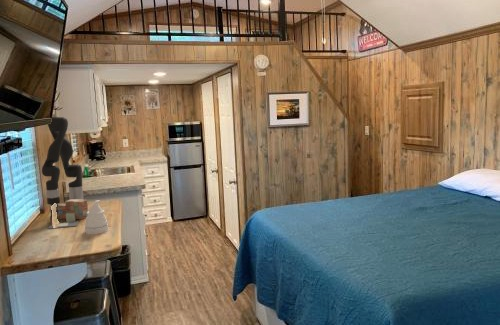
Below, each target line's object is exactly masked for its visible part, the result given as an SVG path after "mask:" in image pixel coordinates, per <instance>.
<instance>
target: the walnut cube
mask: <svg viewBox="0 0 500 325" xmlns="http://www.w3.org/2000/svg"><path fill="white" fill-rule="evenodd" d="M49 219H50V224H51V223H52V217H51V215H50V216H49ZM57 219H58V221H59V222H60V223H61V219H60V214H57Z"/></svg>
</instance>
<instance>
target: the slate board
mask: <svg viewBox="0 0 500 325" xmlns="http://www.w3.org/2000/svg"><path fill="white" fill-rule="evenodd" d="M78 224H79V221H78V220H75V221H74V222H66V221H65V222H60V223H59V225H58V226H57V227H58V228H57V229H62V228H71V227H74V228H75V227H78ZM52 228H53V226H52V224H51V223H50V226H48V230H53V229H52Z"/></svg>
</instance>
